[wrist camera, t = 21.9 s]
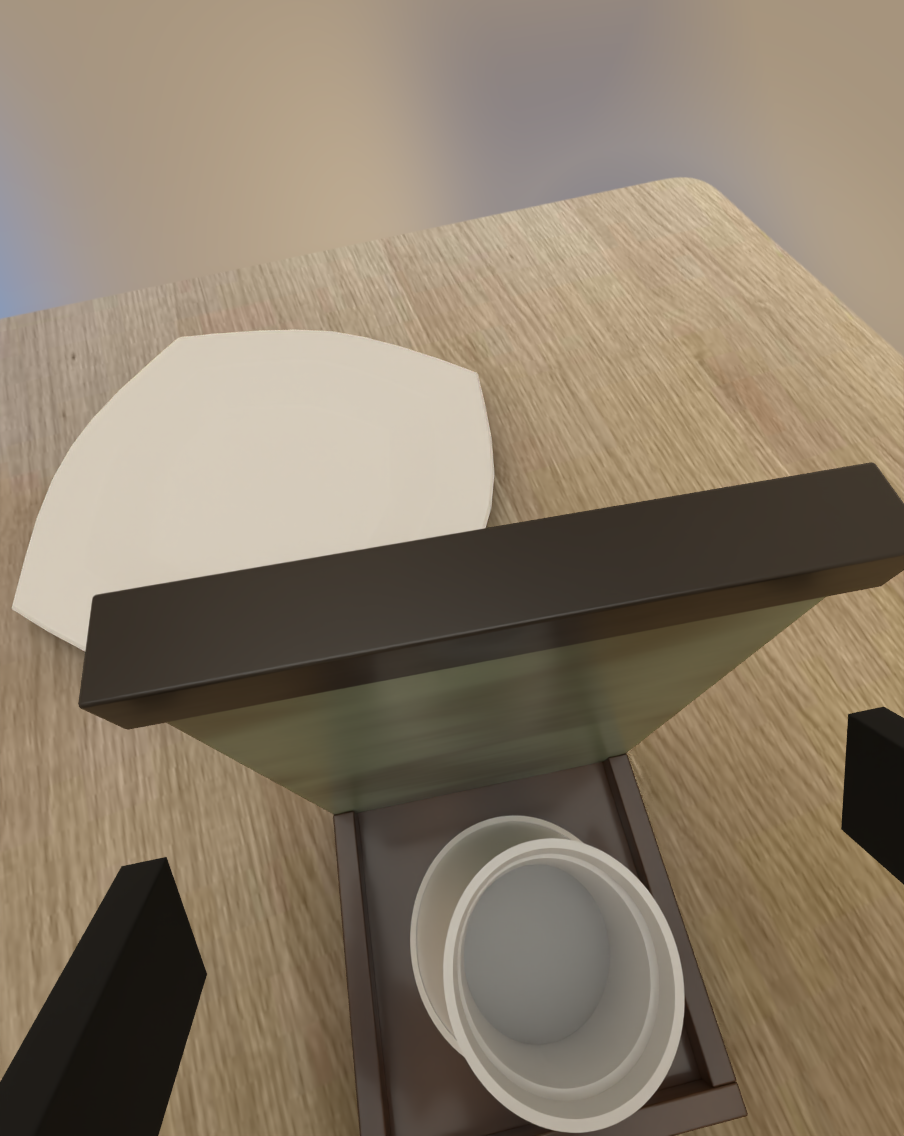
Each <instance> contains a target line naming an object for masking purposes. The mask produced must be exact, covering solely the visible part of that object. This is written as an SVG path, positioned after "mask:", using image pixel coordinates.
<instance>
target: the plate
mask: <svg viewBox="0 0 904 1136" xmlns="http://www.w3.org/2000/svg"><path fill="white" fill-rule="evenodd" d="M493 483H494V463H493V450H492V438H491V432H490V427H489V422H488V417H487V412H486V407H485V402H484V398H483V394H482V389H481V385H480V381H479V377H478V373H476V372H473V371H471V370H468V369H465V368H463V367H460V366H457V365H455V364H452V363H449V362H447V361H444V360H441V359H438V358H435V357H432V356H429V355H426V354H423V353H419V352H416V351H413V350H410V349H407V348H404V347H401V346H397V345H393V344H389V343H385V342H382V341H378V340H374V339H370V338H366V337H361V336H355V335H350V334H345V333H339V332H334V331H315V330H264V331H246V332H232V333H218V334H207V335H198V336H188V337H179V338H177V339H176V340H175V341H174V342H173V343H172V344H170V345H169V346H168V347H167V348H166V349H165V350H163V351H162V352H161V353H160V354H159V355H158V356H157V357H155V358H154V359H153V360H152V361H151V362H150V363H149V364H148V365H146V366H145V367H144V368H143V369H142V370H141V371H140V372H139V373H138V374H137V375H135V376H134V377H133V378H132V379H131V380H130V381H129V382H128V383H127V384H126V385H124V386H123V387H122V388H121V389H120V390H119V391H118V392H117V393H116V394H115V395H114V396H113V398H112V399H111V400H110V401H109V402H108V403H107V404H106V405H105V406H104V407H103V408H102V409H101V410H100V411H99V412H98V413H97V414H96V415H95V417H94V418H93V419H92V420H91V421H90V423H89V424H88V425H87V426H86V428H85V429H84V430H83V432H82V433H81V434H80V436H79V437H78V438H77V440H76V441H75V442H74V443H73V445H72V446H71V447H70V449H69V451H68V453H67V454H66V456H65V458H64V460H63V461H62V463H61V465H60V467H59V469H58V470H57V472H56V474H55V476H54V477H53V479H52V482H51V484H50V487H49V489H48V491H47V494H46V496H45V499H44V501H43V504H42V506H41V509H40V511H39V514H38V516H37V519H36V522H35V526H34V529H33V532H32V536H31V539H30V542H29V546H28V549H27V553H26V556H25V559H24V563H23V567H22V570H21V574H20V578H19V582H18V586H17V590H16V594H15V597H14V601H13V605H12V609H13V610H14V611H16V612H17V613H19V614H21V615H22V616H24V617H25V618H27V619H29V620H30V621H32V622H33V623H35V624H36V625H38V626H40V627H41V628H43V629H44V630H46V631H48V632H50V633H51V634H53V635H55V636H57V637H59V638H61V639H63V640H64V641H66V642H68V643H70V644H72V645H74V646H76V647H77V648H79V649H81V650H83V651H85V650H86V642H87V635H88V627H89V620H90V612H91V604H92V598H93V596H94V595H97V594H103V593H108V592H114V591H120V590H126V589H132V588H138V587H144V586H150V585H155V584H161V583H167V582H173V581H179V580H185V579H191V578H196V577H202V576H208V575H214V574H220V573H226V572H232V571H238V570H243V569H249V568H255V567H261V566H267V565H273V564H279V563H284V562H290V561H296V560H302V559H308V558H314V557H320V556H325V555H331V554H337V553H343V552H349V551H355V550H361V549H367V548H372V547H378V546H384V545H390V544H396V543H402V542H408V541H413V540H419V539H425V538H431V537H437V536H443V535H449V534H455V533H460V532H466V531H472V530H478V529H484V528H486V525H487V521H488V518H489V514H490V510H491V506H492V494H493Z"/></svg>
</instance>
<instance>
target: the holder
mask: <svg viewBox="0 0 904 1136" xmlns="http://www.w3.org/2000/svg"><path fill="white" fill-rule="evenodd" d="M903 570H904V503H903V502H902V500H901V499H900V498H899V496H898V495H897V493H896V492H895V491H894V489H893V488H892V486H891V485H890V484H889V482H888V481H887V480H886V478H885V477H884V475H883V474H882V473H881V471H880V470H879V468H878V467H877V466H876V464H874V463H865V464H859V465H853V466H848V467H842V468H836V469H830V470H824V471H818V472H812V473H807V474H801V475H795V476H789V477H783V478H777V479H771V480H765V481H760V482H754V483H748V484H742V485H736V486H730V487H724V488H719V489H713V490H707V491H701V492H695V493H689V494H683V495H677V496H672V497H666V498H660V499H654V500H648V501H642V502H636V503H631V504H625V505H619V506H613V507H607V508H601V509H595V510H589V511H584V512H578V513H572V514H566V515H560V516H554V517H548V518H543V519H537V520H531V521H525V522H519V523H513V524H507V525H501V526H496V527H490V528H484V529H478V530H472V531H466V532H460V533H455V534H449V535H443V536H437V537H431V538H425V539H419V540H413V541H408V542H402V543H396V544H390V545H384V546H378V547H372V548H367V549H361V550H355V551H349V552H343V553H337V554H331V555H325V556H320V557H314V558H308V559H302V560H296V561H290V562H284V563H279V564H273V565H267V566H261V567H255V568H249V569H243V570H238V571H232V572H226V573H220V574H214V575H208V576H202V577H196V578H191V579H185V580H179V581H173V582H167V583H161V584H155V585H150V586H144V587H138V588H132V589H126V590H120V591H114V592H108V593H103V594H97V595H94V596H93V598H92V604H91V612H90V620H89V627H88V635H87V642H86V650H85V658H84V665H83V673H82V680H81V688H80V696H79V703H78V704H79V707H80V708H81V709H83V710H85V711H88V712H90V713H92V714H94V715H96V716H98V717H101V718H103V719H105V720H107V721H109V722H111V723H114V724H116V725H118V726H120V727H122V728H124V729H134V728H139V727H144V726H149V725H155V724H160V723H165V722H166V723H168V724H170V725H172V726H173V727H175V728H177V729H179V730H181V731H183V732H184V733H186V734H188V735H190V736H192V737H193V738H195V739H197V740H199V741H201V742H203V743H204V744H206V745H208V746H210V747H212V748H214V749H215V750H217V751H219V752H221V753H223V754H224V755H226V756H228V757H230V758H232V759H234V760H235V761H237V762H239V763H241V764H243V765H245V766H246V767H248V768H250V769H252V770H254V771H255V772H257V773H259V774H261V775H263V776H265V777H266V778H268V779H270V780H272V781H274V782H275V783H277V784H279V785H281V786H283V787H285V788H286V789H288V790H290V791H292V792H294V793H296V794H297V795H299V796H301V797H303V798H305V799H306V800H308V801H310V802H312V803H314V804H316V805H317V806H319V807H321V808H323V809H325V810H327V811H328V812H330V813H332V814H334V816H333V821H334V833H335V845H336V856H337V868H338V880H339V892H340V904H341V916H342V928H343V940H344V952H345V964H346V976H347V987H348V999H349V1011H350V1023H351V1035H352V1047H353V1059H354V1071H355V1083H356V1095H357V1107H358V1118H359V1130H360V1136H675V1135H678V1134H682V1133H686V1132H689V1131H693V1130H697V1129H700V1128H704V1127H708V1126H712V1125H715V1124H719V1123H723V1122H726V1121H730V1120H734V1119H738V1118H741V1117H745V1116H747V1110H746V1107H745V1104H744V1101H743V1098H742V1095H741V1092H740V1089H739V1086H738V1084H737V1082H735V1081H736V1078H735V1075H734V1072H733V1069H732V1066H731V1063H730V1060H729V1057H728V1054H727V1051H726V1048H725V1045H724V1042H723V1039H722V1036H721V1033H720V1030H719V1027H718V1024H717V1021H716V1018H715V1015H714V1012H713V1009H712V1006H711V1003H710V1000H709V997H708V994H707V991H706V988H705V985H704V982H703V979H702V976H701V973H700V970H699V967H698V964H697V961H696V958H695V955H694V952H693V949H692V946H691V943H690V940H689V937H688V934H687V931H686V928H685V925H684V922H683V920H682V917H681V914H680V911H679V908H678V905H677V902H676V899H675V896H674V893H673V890H672V887H671V884H670V881H669V878H668V875H667V872H666V869H665V866H664V863H663V860H662V857H661V854H660V851H659V848H658V845H657V842H656V839H655V836H654V833H653V830H652V827H651V824H650V821H649V818H648V815H647V812H646V809H645V806H644V803H643V800H642V797H641V794H640V791H639V788H638V785H637V782H636V779H635V776H634V773H633V770H632V767H631V765H630V762H629V759H628V756H627V754H626V753H627V752H628V751H630V750H631V749H632V748H633V747H635V746H636V745H637V744H639V743H640V742H641V741H642V740H644V739H645V738H646V737H647V736H649V735H650V734H651V733H653V732H654V731H655V730H656V729H658V728H659V727H660V726H662V725H663V724H664V723H665V722H667V721H668V720H669V719H670V718H672V717H673V716H674V715H676V714H677V713H678V712H679V711H681V710H682V709H683V708H685V707H686V706H687V705H688V704H690V703H691V702H692V701H693V700H695V699H696V698H697V697H699V696H700V695H701V694H702V693H704V692H705V691H706V690H708V689H709V688H710V687H711V686H713V685H714V684H715V683H716V682H718V681H719V680H720V679H722V678H723V677H724V676H725V675H727V674H728V673H729V672H731V671H732V670H733V669H734V668H736V667H737V666H738V665H739V664H741V663H742V662H743V661H745V660H746V659H747V658H748V657H750V656H751V655H752V654H754V653H755V652H756V651H757V650H759V649H760V648H761V647H762V646H764V645H765V644H766V643H768V642H769V641H770V640H771V639H773V638H774V637H775V636H777V635H778V634H779V633H780V632H782V631H783V630H784V629H785V628H787V627H788V626H789V625H791V624H792V623H793V622H794V621H796V620H797V619H798V618H800V617H801V616H802V615H803V614H805V613H806V612H807V611H808V610H810V609H811V608H812V607H814V606H815V605H816V604H817V603H819V602H820V601H821V600H823V599H824V598H825V597H826V596H832V595H837V594H842V593H847V592H853V591H858V590H863V589H868V588H874V587H879V586H882V585H883V584H885V583H886V582H888V581H889V580H890V579H892V578H893V577H895V576H896V575H897V574H899V573H900V572H902V571H903ZM501 816H528V817H534V818H538V819H542V820H545V821H548V822H550V823H553V824H555V825H557V826H559V827H561V828H563V829H565V830H566V831H568V832H570V833H571V834H573V835H574V836H575V837H577V838H578V839H579V840H580V841H582V842H583V843H584V844H587V845H589V846H592V847H594V848H597V849H599V850H601V851H603V852H605V853H606V854H608V855H610V856H611V857H613V858H614V859H616V860H617V861H619V862H620V863H621V864H623V865H624V866H625V867H626V868H627V869H628V870H630V871H631V872H632V873H633V874H634V875H635V876H636V877H637V878H638V879H639V880H640V882H641V883H642V884H643V885H644V886H645V887H646V889H647V890H648V891H649V893H650V894H651V895H652V897H653V898H654V900H655V901H656V903H657V904H658V906H659V908H660V909H661V911H662V913H663V915H664V917H665V919H666V921H667V923H668V925H669V927H670V930H671V932H672V935H673V937H674V940H675V943H676V946H677V950H678V954H679V957H680V962H681V967H682V973H683V981H684V1019H683V1026H682V1032H681V1037H680V1041H679V1045H678V1048H677V1051H676V1054H675V1057H674V1060H673V1062H672V1064H671V1067H670V1069H669V1071H668V1073H667V1075H666V1076H665V1078H664V1080H663V1081H662V1083H661V1085H660V1086H659V1088H658V1089H657V1090H656V1092H655V1093H654V1094H653V1095H652V1097H651V1098H650V1099H649V1100H648V1101H647V1102H646V1103H645V1104H644V1105H643V1106H642V1107H641V1108H640V1109H638V1110H637V1111H636V1112H635V1113H633V1114H632V1115H631V1116H629V1117H627V1118H626V1119H624V1120H622V1121H621V1122H619V1123H617V1124H614V1125H612V1126H609V1127H607V1128H604V1129H600V1130H596V1131H590V1132H582V1133H570V1132H560V1131H555V1130H551V1129H547V1128H544V1127H541V1126H538V1125H536V1124H533V1123H531V1122H529V1121H527V1120H525V1119H523V1118H521V1117H520V1116H518V1115H516V1114H515V1113H513V1112H512V1111H510V1110H509V1109H508V1108H506V1107H505V1106H504V1105H503V1104H502V1103H500V1102H499V1101H498V1100H497V1099H496V1098H495V1097H494V1096H493V1095H492V1094H491V1093H490V1092H489V1091H488V1090H487V1089H486V1088H485V1086H484V1085H483V1084H482V1083H481V1081H480V1080H479V1079H478V1078H477V1076H476V1075H475V1073H474V1072H473V1070H472V1069H471V1067H470V1066H469V1064H468V1062H467V1060H466V1059H465V1057H464V1056H462V1055H461V1054H460V1053H459V1052H458V1051H457V1050H456V1049H454V1048H453V1047H452V1046H451V1044H450V1043H449V1042H448V1041H447V1040H446V1039H445V1038H444V1036H443V1035H442V1034H441V1033H440V1031H439V1030H438V1028H437V1027H436V1026H435V1024H434V1022H433V1021H432V1019H431V1017H430V1016H429V1014H428V1012H427V1010H426V1008H425V1006H424V1003H423V1001H422V999H421V996H420V993H419V990H418V987H417V984H416V980H415V976H414V972H413V967H412V960H411V949H410V931H411V920H412V913H413V908H414V904H415V900H416V896H417V893H418V890H419V888H420V885H421V883H422V880H423V878H424V876H425V874H426V872H427V870H428V868H429V867H430V865H431V864H432V862H433V861H434V859H435V858H436V856H437V855H438V854H439V853H440V851H441V850H442V849H443V848H444V847H445V846H446V845H447V844H448V843H449V842H450V841H451V840H452V839H453V838H454V837H456V836H457V835H458V834H460V833H461V832H462V831H464V830H466V829H467V828H469V827H471V826H473V825H475V824H477V823H479V822H482V821H485V820H488V819H491V818H495V817H501ZM653 944H654V943H653ZM657 962H658V961H657ZM659 984H660V983H659ZM659 989H660V987H659ZM655 1021H656V1020H655ZM650 1037H651V1036H650ZM623 1078H624V1077H623ZM592 1097H593V1096H592Z"/></svg>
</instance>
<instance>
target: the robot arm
mask: <svg viewBox="0 0 904 1136" xmlns="http://www.w3.org/2000/svg"><path fill="white" fill-rule="evenodd" d="M841 829H842V830H843V831H844V832H845V833H846V834H847V835H849V836H850V837H851V838H852V839H853V840H854V841H855V842H856V843H858V844H859V845H860V846H861V847H862V848H863V849H864V850H865V851H867V852H868V853H869V854H870V855H871V856H872V857H873V858H874V859H876V860H877V861H878V862H879V863H880V864H881V865H882V866H883V867H885V868H886V869H887V870H888V871H889V872H890V873H891V874H892V875H894V876H895V877H896V878H897V879H898V880H899V881H900V882H901V883H903V884H904V718H903V717H901V716H899V715H897V714H896V713H894V712H892V711H890V710H889V709H887V708H885V707H880V708H875V709H871V710H866V711H861V712H856V713H852V714H848V728H847V745H846V761H845V778H844V794H843V811H842V827H841ZM206 976H207V973H206V970H205V967H204V964H203V961H202V958H201V955H200V953H199V950H198V947H197V944H196V941H195V938H194V935H193V932H192V929H191V927H190V924H189V921H188V918H187V915H186V912H185V909H184V906H183V903H182V901H181V898H180V895H179V892H178V889H177V886H176V883H175V880H174V877H173V875H172V872H171V869H170V866H169V863H168V860H167V857H164V858H159V859H155V860H150V861H145V862H140V863H135V864H131V865H126V866H122V867H121V869H120V870H119V872H118V874H117V876H116V878H115V879H114V881H113V883H112V885H111V886H110V888H109V890H108V892H107V894H106V895H105V897H104V899H103V901H102V902H101V904H100V906H99V908H98V910H97V911H96V913H95V915H94V917H93V918H92V920H91V922H90V924H89V926H88V927H87V929H86V931H85V933H84V934H83V936H82V938H81V940H80V941H79V943H78V945H77V947H76V949H75V950H74V952H73V954H72V956H71V957H70V959H69V961H68V963H67V965H66V966H65V968H64V970H63V972H62V973H61V975H60V977H59V979H58V981H57V982H56V984H55V986H54V988H53V989H52V991H51V993H50V995H49V997H48V998H47V1000H46V1002H45V1004H44V1005H43V1007H42V1009H41V1011H40V1012H39V1014H38V1016H37V1018H36V1020H35V1021H34V1023H33V1025H32V1027H31V1028H30V1030H29V1032H28V1034H27V1036H26V1037H25V1039H24V1041H23V1043H22V1044H21V1046H20V1048H19V1050H18V1052H17V1053H16V1055H15V1057H14V1059H13V1060H12V1062H11V1064H10V1066H9V1068H8V1069H7V1071H6V1073H5V1075H4V1076H3V1078H2V1080H1V1082H0V1136H158V1134H159V1131H160V1128H161V1125H162V1121H163V1118H164V1115H165V1111H166V1108H167V1105H168V1101H169V1098H170V1095H171V1091H172V1088H173V1085H174V1082H175V1078H176V1075H177V1072H178V1068H179V1065H180V1062H181V1058H182V1055H183V1052H184V1048H185V1045H186V1042H187V1039H188V1035H189V1032H190V1029H191V1025H192V1022H193V1019H194V1015H195V1012H196V1009H197V1005H198V1002H199V999H200V995H201V992H202V989H203V986H204V982H205V979H206Z"/></svg>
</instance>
